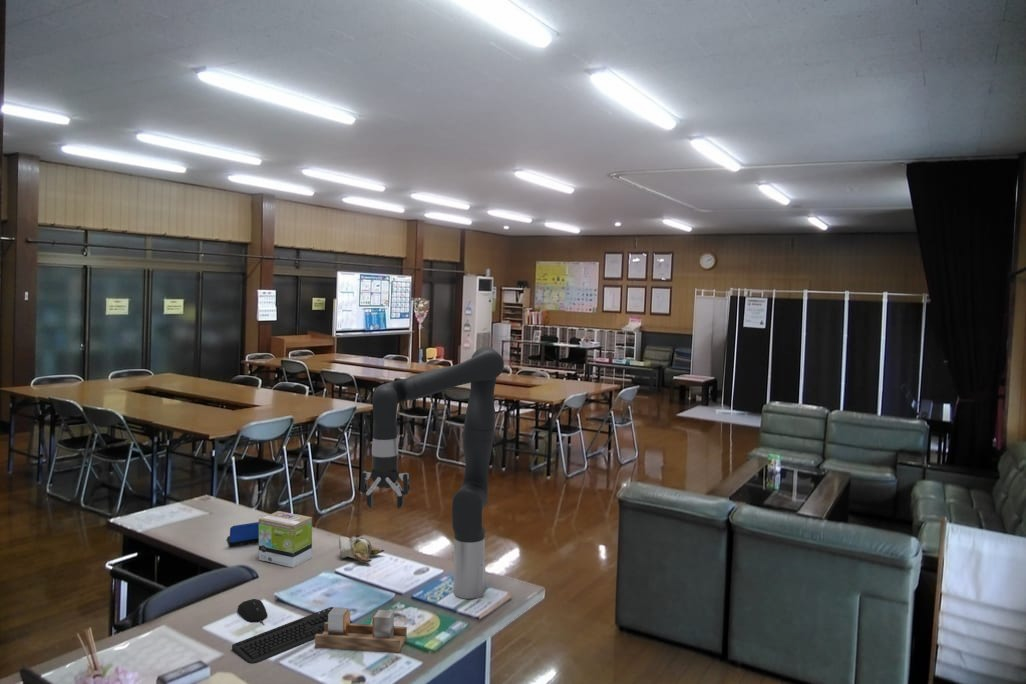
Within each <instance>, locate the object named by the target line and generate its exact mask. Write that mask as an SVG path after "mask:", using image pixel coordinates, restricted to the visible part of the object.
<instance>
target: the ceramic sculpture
mask: <svg viewBox="0 0 1026 684" xmlns="http://www.w3.org/2000/svg"><path fill="white" fill-rule="evenodd" d="M338 544H339V545H338V548H339V551H340V552H339V555H340V557H341V558H342V559H346V558H352V559H354V560H356V561H357V560H358V562H360V563H361V564H363V563H369V562H370V563H371V562H372V561H373V560H372V559H371V558H370V555H371V556H375V555H379V554H382V553H384V552H385V549H379V548H377V547H376V546H375V545H372V543H371V542H370V540H369V539H367V538H364V537H361V536H360V535H359V534H355V535H354V536H353V535H352V537H351V538H349V537H347V536H342V535H339V537H338Z"/></svg>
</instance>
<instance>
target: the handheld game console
mask: <svg viewBox="0 0 1026 684" xmlns="http://www.w3.org/2000/svg"><path fill="white" fill-rule="evenodd" d="M226 540H227V544H228V546H229V547H230V548H235V547H239V546H245V545H246V546H247V545H250V544H259V521H257V522H250V523H244V524H243V523H242V524H238V525H237V524H236V525H233V526H231V527H230V528H229V536H227V537H226Z"/></svg>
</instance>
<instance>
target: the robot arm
mask: <svg viewBox="0 0 1026 684" xmlns="http://www.w3.org/2000/svg"><path fill="white" fill-rule="evenodd" d="M504 367H505V361H504V359H503V357H502V355H500V353H499V352H498V351H497V350H495V349H494V348H492V347H489V346H483V347H480V348H478V349H477V350H475V351H474V352H473V354H472V356H471V358H468V359H467V360H465V361H463V362H459V363H457V364H454V365H450V366H446V367H441V368H435V369H430V370H427V371H423V372H419V373H416V374H414V375H411V376H408V377H406V378H404V379H398V380H394V381H389V382H386V383H383V384H381V385H379V386H377V387H376V388H375V389H374V392H373V394H372V415H373V418H372V419H373V423H372V443H371V444H372V445H371V472H368V471H367V470H364V471H363V472H362V473H360V487H359V488H360V489H359V491H360V493H361V494H364V495H366V505H367V506H368V508H373V507H374V493H373V492H374V491H375V489H376V488H377V487H378V489H380V488H381V489H383V488H386V489H390V488H391V489H392V490H393V491H394V492H395V493H396V494H397V496H396V497H397V498H396V499H397V502H396V504H397V505H396V507H397V509H398V510H399V509H401V508H402V507H403V505H404V502H405V501H404V496H405V495H408V494H409V493H410V492H411V491H410V490H411V486H410V473H409V472H406V471H405V472H403V473H400V472H399V442H398V422H397V414H398V413H397V410H398V404H401V403H404V402H407V401H416V400H419V399H423V398H426V397H428V396H433V395H434V394H437V393H440V392H443V391H446V390H449V389H452V388H455V387H458V386H459V387H460V386H463V385H467V384H470V387H469V388H470V389H469V390H470V391H469V396H468V401H467V405H466V412H465V419H464V423H463V434H462V449H463V455H464V464H465V467H464V475H463V481H462V484H461V488H459V490H457V491H456V492H455V494H453V497H452V504H451V514H452V515H451V517H452V518H451V524H452V530H453V532H454V533H453V534H454V535H453V536H454V539H453V542H454V543H453V545H454V547H453V548H454V550H453V555H454V556H453V595H454V596H456V597H457V596H458V598H460V599H465V600H466V599H469V600H473V599H476V598H483V596H484V594H485V590H486V559H485V549H486V548H485V539H486V538H485V537H486V534H485V533H486V530H485V527H483V509H484V508H485V507H486V506H487V503H488V498H489V497H488V496H489V495H488V493H489V491H488V490H489V485H488V484H489V467H490V462H491V456H492V450H493V443H494V437H495V436H494V435H495V430H496V429H495V426H496V425H495V424H496V414H495V413H496V409H495V398H494V397H495V395H494V394H495V389H496V388H495V386H496V381H497V378H498V377H499V376H501V374H502V373H503V371H504ZM370 478H371V480H372V481H373V483H372V484H371V485H370V487H369V488H368V480H369V479H370ZM399 478H400V480H401V481H402V482H403V488H402V486H401V484H400V483H399V482H398V480H399Z"/></svg>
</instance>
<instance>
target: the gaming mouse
mask: <svg viewBox="0 0 1026 684" xmlns="http://www.w3.org/2000/svg"><path fill="white" fill-rule="evenodd" d="M237 614H238V615H239V617H242V618H243V620H244V621H246V622H248V623H258V622H259V623H260V624H262V626H265V624H264V622H263V621H264V620H266V619H267V618H268V612H267V608H266V607H265V604H264V602H262V601H261V600H260V599H256V598H252V599H248V600H245V601H242V602H241V603H239V605H238V606H237Z"/></svg>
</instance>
